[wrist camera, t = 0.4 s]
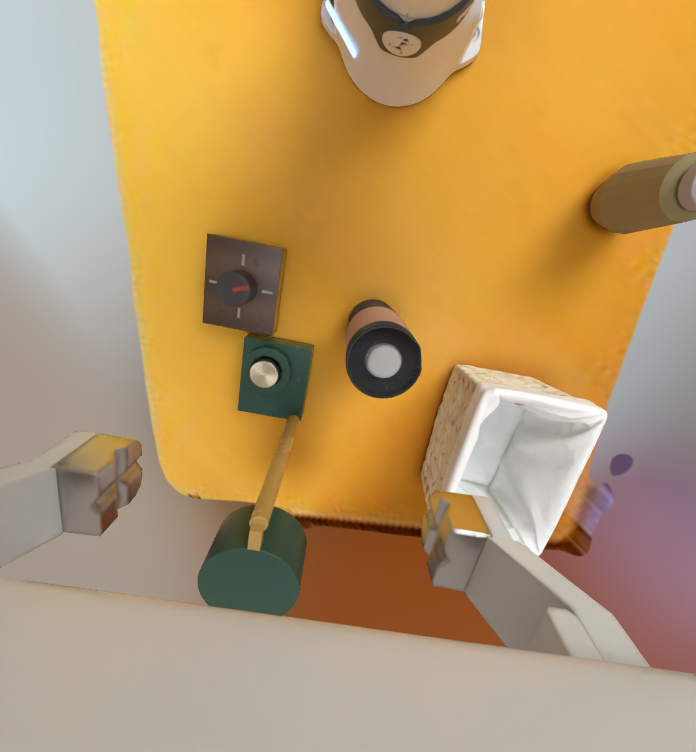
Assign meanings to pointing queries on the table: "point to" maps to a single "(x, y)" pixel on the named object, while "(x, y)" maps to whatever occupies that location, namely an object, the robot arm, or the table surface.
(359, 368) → the travel mug
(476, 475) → the basket
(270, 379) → the power button
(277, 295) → the dimmer
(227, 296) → the dimmer knob
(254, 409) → the lamp base
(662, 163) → the squeeze bottle
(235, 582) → the desk lamp
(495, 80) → the table surface
